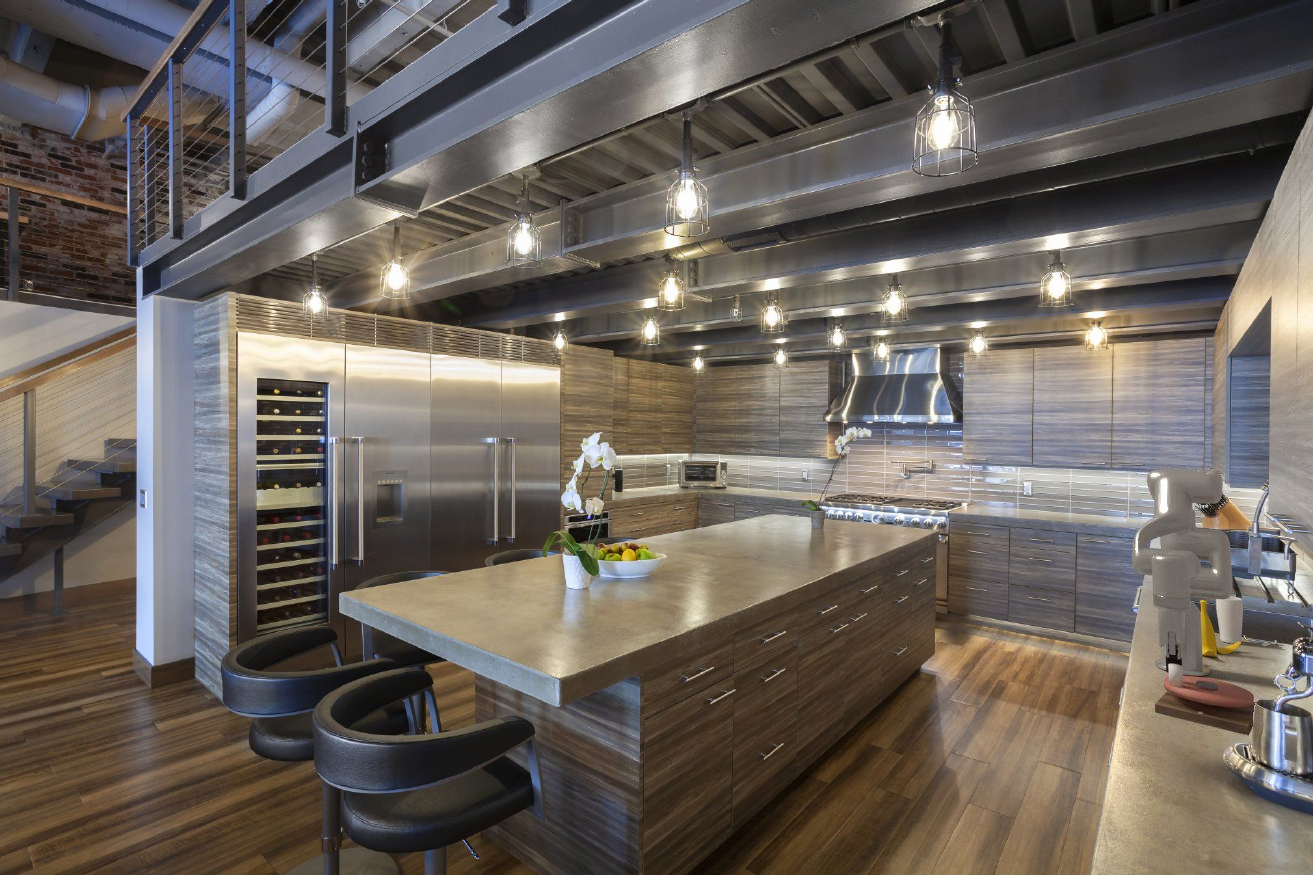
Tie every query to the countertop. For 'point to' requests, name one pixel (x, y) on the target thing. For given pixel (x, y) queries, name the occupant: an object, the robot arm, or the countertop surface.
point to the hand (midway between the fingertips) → (1174, 672)
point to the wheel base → (1207, 713)
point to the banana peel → (1211, 636)
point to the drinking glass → (1230, 619)
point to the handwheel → (1206, 689)
